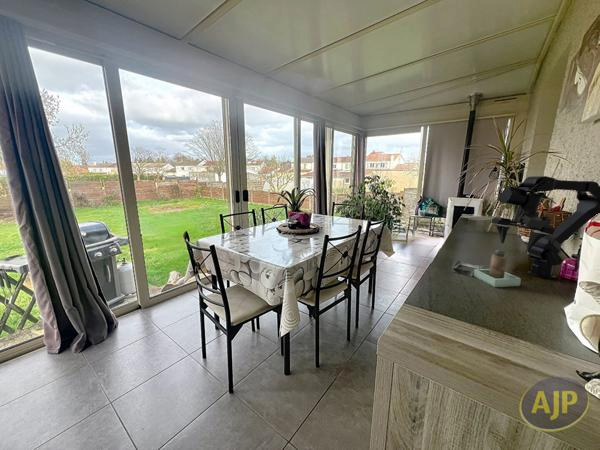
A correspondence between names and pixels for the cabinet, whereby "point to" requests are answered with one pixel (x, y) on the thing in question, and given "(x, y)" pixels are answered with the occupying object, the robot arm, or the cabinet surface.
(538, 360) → the cabinet surface
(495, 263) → the pepper mill
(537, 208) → the robot arm
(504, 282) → the tray
